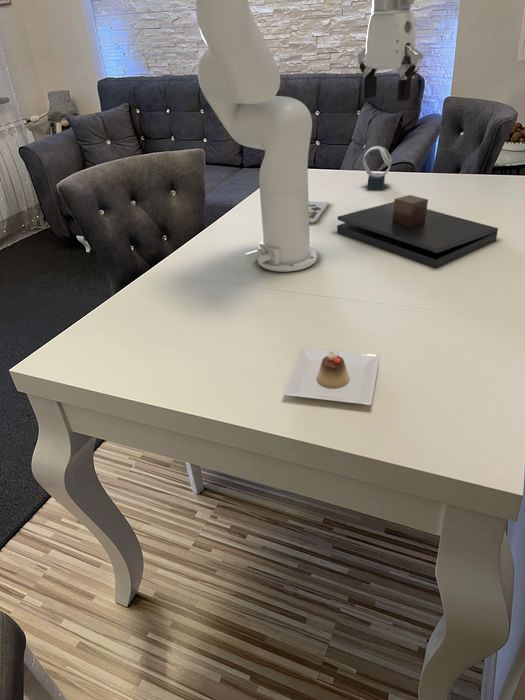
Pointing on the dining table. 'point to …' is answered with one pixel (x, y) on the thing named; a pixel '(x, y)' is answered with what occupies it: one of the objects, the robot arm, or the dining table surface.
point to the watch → (377, 179)
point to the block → (410, 210)
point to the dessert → (333, 375)
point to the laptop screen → (420, 228)
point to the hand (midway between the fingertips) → (386, 98)
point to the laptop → (411, 250)
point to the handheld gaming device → (316, 210)
